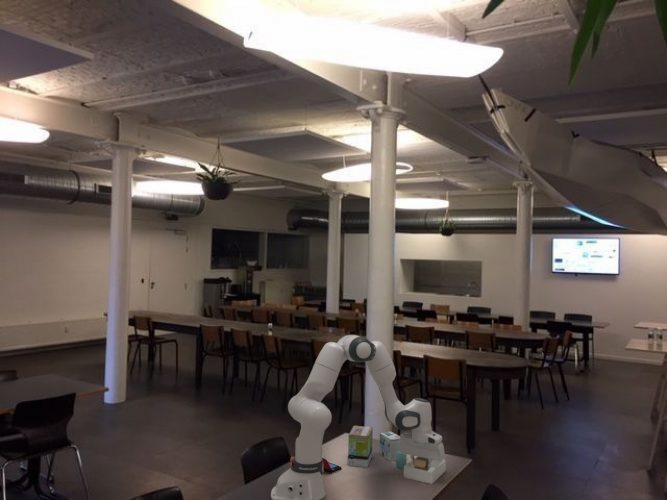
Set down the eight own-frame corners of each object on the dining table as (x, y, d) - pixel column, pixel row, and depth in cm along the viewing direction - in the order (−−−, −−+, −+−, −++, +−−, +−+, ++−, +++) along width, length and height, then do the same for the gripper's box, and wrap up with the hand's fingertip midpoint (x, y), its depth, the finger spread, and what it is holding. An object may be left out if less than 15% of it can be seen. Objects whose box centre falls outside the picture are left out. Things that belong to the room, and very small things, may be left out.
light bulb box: (379, 454, 260) (379, 432, 260) (390, 452, 263) (390, 430, 263) (390, 461, 250) (390, 439, 250) (402, 459, 253) (402, 437, 253)
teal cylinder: (396, 469, 241) (396, 453, 241) (395, 465, 246) (395, 450, 246) (407, 469, 241) (407, 454, 241) (406, 465, 246) (406, 450, 246)
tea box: (368, 467, 242) (368, 435, 243) (347, 465, 244) (347, 434, 245) (372, 456, 257) (372, 426, 258) (352, 454, 259) (352, 424, 260)
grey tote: (431, 484, 224) (431, 472, 224) (403, 477, 231) (403, 466, 231) (445, 471, 239) (445, 460, 239) (418, 465, 246) (418, 454, 246)
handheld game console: (342, 469, 240) (342, 453, 240) (326, 476, 233) (326, 459, 233) (324, 462, 249) (324, 446, 249) (307, 468, 241) (307, 452, 242)
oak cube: (424, 473, 228) (424, 461, 228) (414, 470, 231) (414, 459, 231) (429, 469, 232) (429, 458, 233) (418, 467, 235) (418, 456, 235)
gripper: (397, 433, 235) (397, 464, 234) (440, 441, 224) (440, 473, 224) (403, 429, 240) (403, 459, 240) (445, 437, 229) (445, 468, 229)
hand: (421, 466), depth 232 cm, fingers closed on oak cube, 5 cm apart
